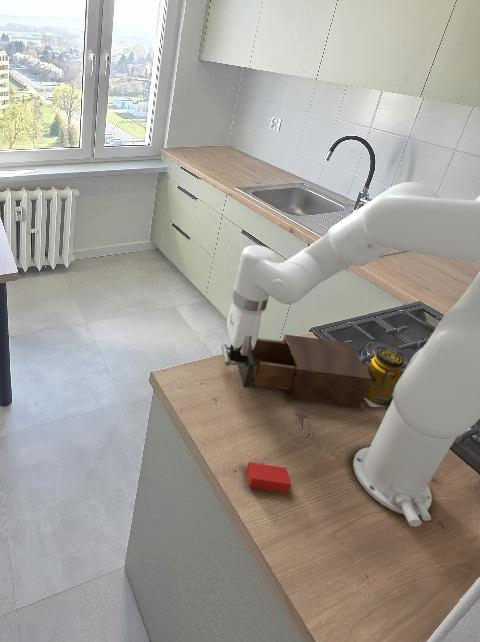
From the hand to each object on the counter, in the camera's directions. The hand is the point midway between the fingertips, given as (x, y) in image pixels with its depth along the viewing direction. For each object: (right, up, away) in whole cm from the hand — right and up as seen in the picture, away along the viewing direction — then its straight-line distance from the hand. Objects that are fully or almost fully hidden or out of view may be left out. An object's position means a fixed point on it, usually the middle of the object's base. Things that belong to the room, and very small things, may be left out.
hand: (235, 359), depth 102 cm
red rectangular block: (-2, -15, -23) cm, 27 cm away
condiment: (+33, -8, -2) cm, 34 cm away
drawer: (+6, -4, +1) cm, 7 cm away
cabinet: (+20, -6, 0) cm, 20 cm away
